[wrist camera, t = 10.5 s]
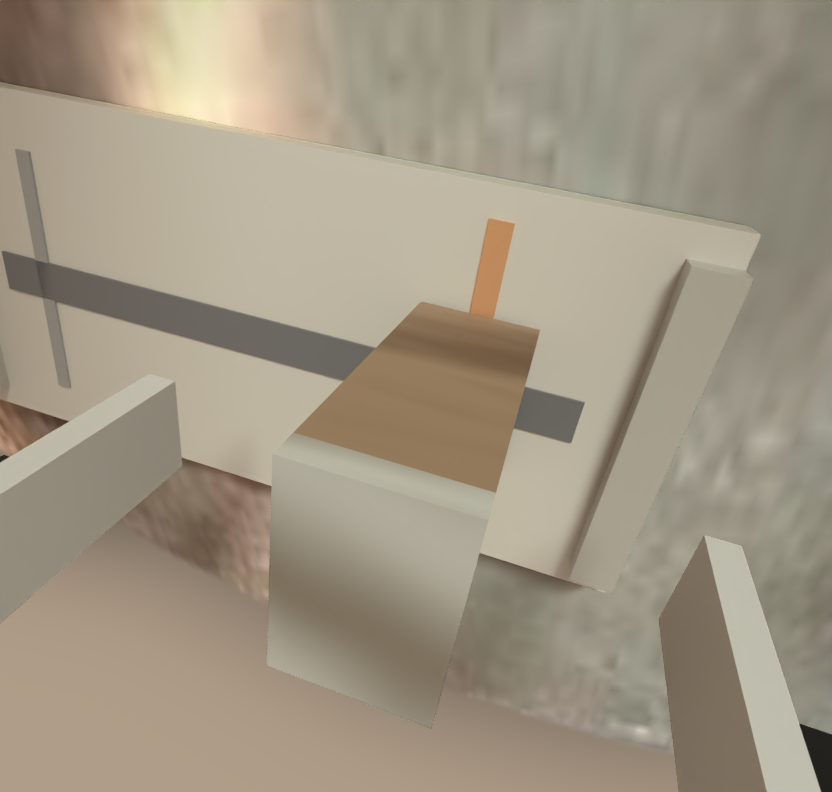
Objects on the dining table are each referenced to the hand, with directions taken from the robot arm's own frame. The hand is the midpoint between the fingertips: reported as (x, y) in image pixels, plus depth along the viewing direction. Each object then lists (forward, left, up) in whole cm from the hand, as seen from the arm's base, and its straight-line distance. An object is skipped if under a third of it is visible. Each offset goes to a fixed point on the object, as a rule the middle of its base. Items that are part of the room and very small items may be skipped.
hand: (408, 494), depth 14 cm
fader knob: (0, 0, -7) cm, 7 cm away
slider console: (0, -8, -8) cm, 12 cm away
